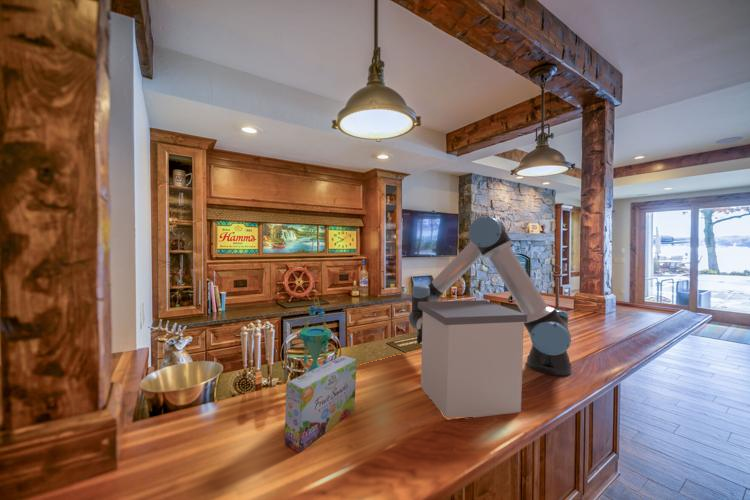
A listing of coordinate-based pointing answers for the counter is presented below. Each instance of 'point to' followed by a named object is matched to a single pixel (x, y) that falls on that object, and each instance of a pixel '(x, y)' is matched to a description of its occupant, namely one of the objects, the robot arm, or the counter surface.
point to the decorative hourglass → (315, 339)
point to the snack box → (319, 401)
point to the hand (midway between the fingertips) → (454, 345)
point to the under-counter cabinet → (472, 357)
